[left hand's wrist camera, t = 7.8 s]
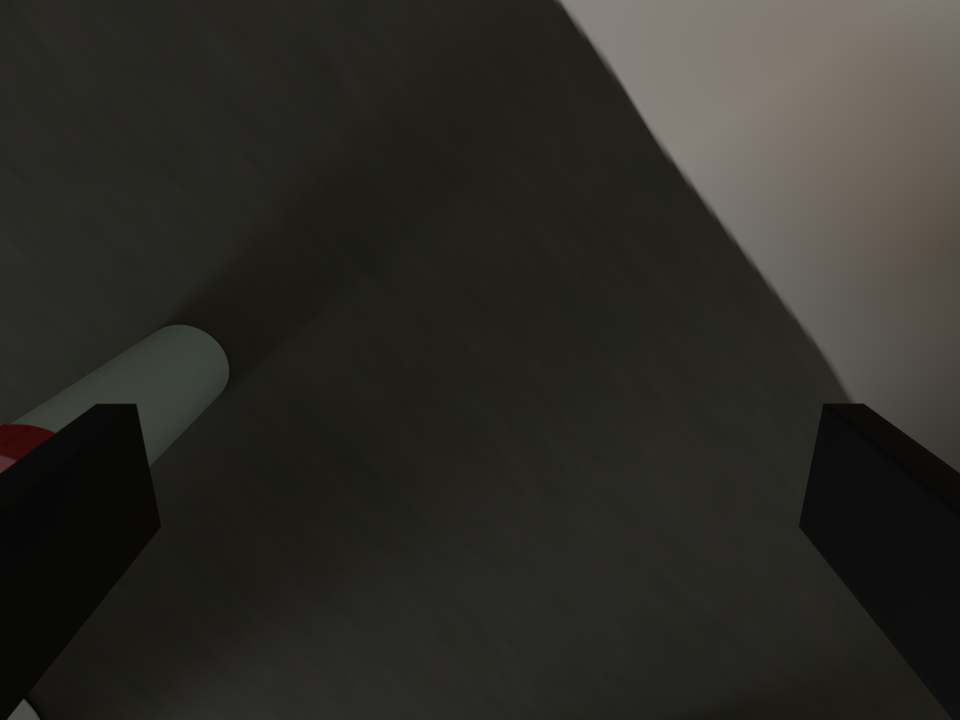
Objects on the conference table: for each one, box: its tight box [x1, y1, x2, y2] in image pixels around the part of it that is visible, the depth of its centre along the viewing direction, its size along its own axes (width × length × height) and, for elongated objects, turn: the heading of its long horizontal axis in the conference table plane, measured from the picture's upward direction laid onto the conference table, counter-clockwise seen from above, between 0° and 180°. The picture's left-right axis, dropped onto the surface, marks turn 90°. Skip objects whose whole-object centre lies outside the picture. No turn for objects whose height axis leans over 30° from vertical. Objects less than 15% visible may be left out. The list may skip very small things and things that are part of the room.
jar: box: [9, 325, 229, 467], centre depth 34 cm, size 6×6×17 cm
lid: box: [0, 424, 55, 473], centre depth 26 cm, size 6×6×2 cm
